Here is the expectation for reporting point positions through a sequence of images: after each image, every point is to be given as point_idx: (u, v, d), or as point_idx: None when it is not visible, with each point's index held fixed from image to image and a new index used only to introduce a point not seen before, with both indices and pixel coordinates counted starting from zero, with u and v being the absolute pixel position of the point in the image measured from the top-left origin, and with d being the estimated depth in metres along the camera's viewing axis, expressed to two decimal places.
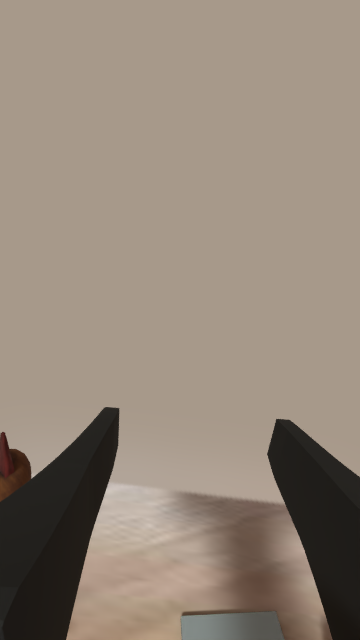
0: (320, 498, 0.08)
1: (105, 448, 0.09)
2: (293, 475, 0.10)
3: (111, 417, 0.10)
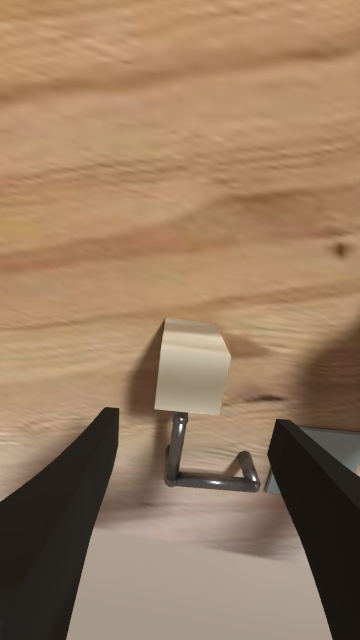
0: (320, 498, 0.08)
1: (105, 448, 0.09)
2: (293, 475, 0.10)
3: (111, 417, 0.10)
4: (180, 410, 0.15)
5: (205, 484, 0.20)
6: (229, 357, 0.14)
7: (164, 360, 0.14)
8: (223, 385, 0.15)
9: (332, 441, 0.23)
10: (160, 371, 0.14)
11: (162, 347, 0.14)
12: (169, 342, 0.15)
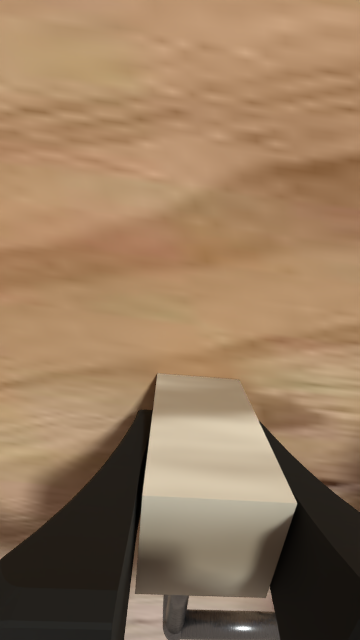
0: None
1: (147, 451, 0.09)
2: None
3: (150, 420, 0.10)
4: (187, 594, 0.07)
5: (228, 635, 0.13)
6: (293, 503, 0.06)
7: (151, 515, 0.06)
8: (277, 551, 0.07)
9: None
10: (144, 533, 0.07)
11: (146, 484, 0.07)
12: (162, 458, 0.07)
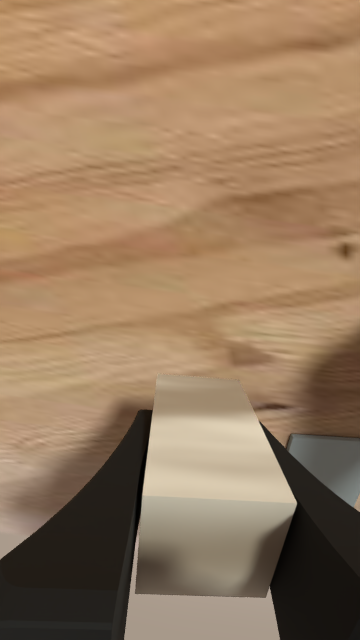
0: None
1: (147, 451, 0.09)
2: None
3: (150, 420, 0.10)
4: (187, 594, 0.07)
5: None
6: (293, 503, 0.06)
7: (151, 514, 0.06)
8: (277, 550, 0.07)
9: (341, 448, 0.22)
10: (144, 533, 0.07)
11: (146, 484, 0.07)
12: (162, 458, 0.07)
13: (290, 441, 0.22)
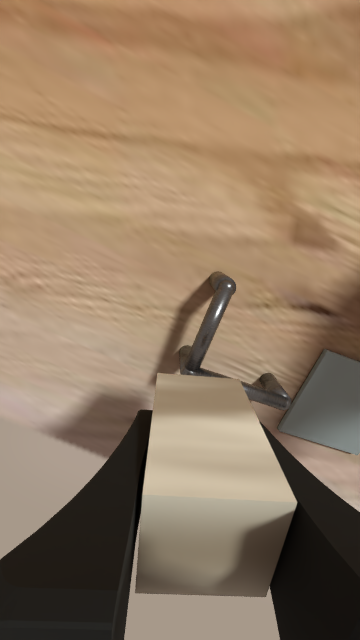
0: None
1: (147, 451, 0.09)
2: None
3: (150, 420, 0.10)
4: (187, 593, 0.07)
5: None
6: (293, 502, 0.06)
7: (151, 514, 0.06)
8: (277, 550, 0.07)
9: None
10: (144, 532, 0.07)
11: (146, 483, 0.07)
12: (162, 458, 0.07)
13: (321, 357, 0.19)
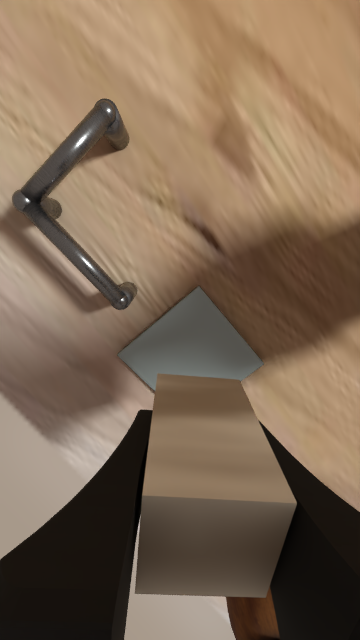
0: None
1: (147, 451, 0.09)
2: None
3: (150, 420, 0.10)
4: (187, 594, 0.07)
5: (65, 241, 0.13)
6: (293, 503, 0.06)
7: (151, 514, 0.06)
8: (277, 550, 0.07)
9: (228, 340, 0.19)
10: (144, 533, 0.07)
11: (146, 484, 0.07)
12: (162, 458, 0.07)
13: (191, 292, 0.18)
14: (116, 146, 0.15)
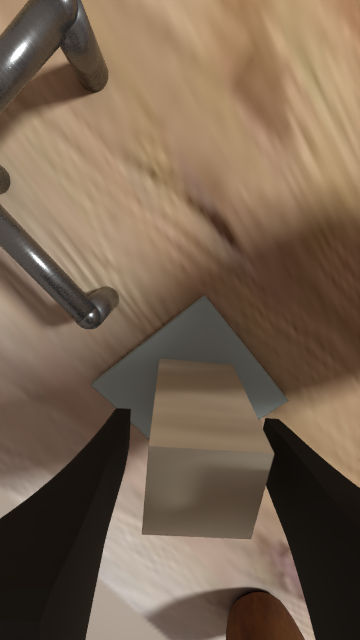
0: (305, 497, 0.08)
1: (119, 449, 0.09)
2: (280, 474, 0.10)
3: (124, 418, 0.10)
4: (185, 535, 0.09)
5: None
6: (271, 454, 0.08)
7: (155, 463, 0.08)
8: (259, 496, 0.09)
9: (242, 369, 0.14)
10: (150, 479, 0.08)
11: (152, 438, 0.08)
12: (164, 421, 0.09)
13: (194, 303, 0.13)
14: (88, 83, 0.10)
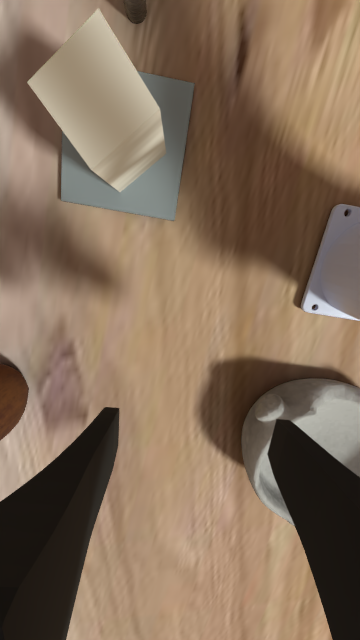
0: (320, 498, 0.08)
1: (105, 448, 0.09)
2: (293, 475, 0.10)
3: (111, 417, 0.10)
4: (54, 117, 0.11)
5: None
6: (158, 107, 0.11)
7: (90, 28, 0.10)
8: (125, 136, 0.11)
9: (168, 164, 0.17)
10: (75, 38, 0.10)
11: None
12: None
13: None
14: None
